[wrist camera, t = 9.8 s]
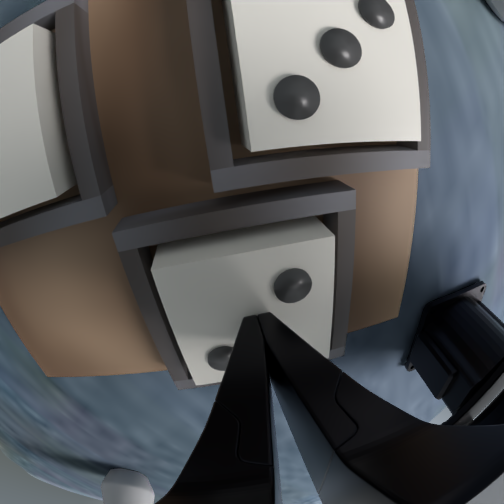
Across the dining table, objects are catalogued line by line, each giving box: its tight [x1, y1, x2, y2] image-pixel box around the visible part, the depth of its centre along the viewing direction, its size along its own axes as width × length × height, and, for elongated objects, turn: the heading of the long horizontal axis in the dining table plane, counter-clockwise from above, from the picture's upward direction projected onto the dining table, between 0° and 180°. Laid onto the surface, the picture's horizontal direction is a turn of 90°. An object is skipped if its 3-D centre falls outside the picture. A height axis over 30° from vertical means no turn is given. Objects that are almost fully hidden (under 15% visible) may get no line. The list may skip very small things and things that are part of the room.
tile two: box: [151, 216, 335, 386], centre depth 9 cm, size 5×5×2 cm
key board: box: [0, 0, 430, 390], centre depth 9 cm, size 18×15×3 cm
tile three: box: [222, 0, 421, 152], centre depth 6 cm, size 5×5×2 cm
